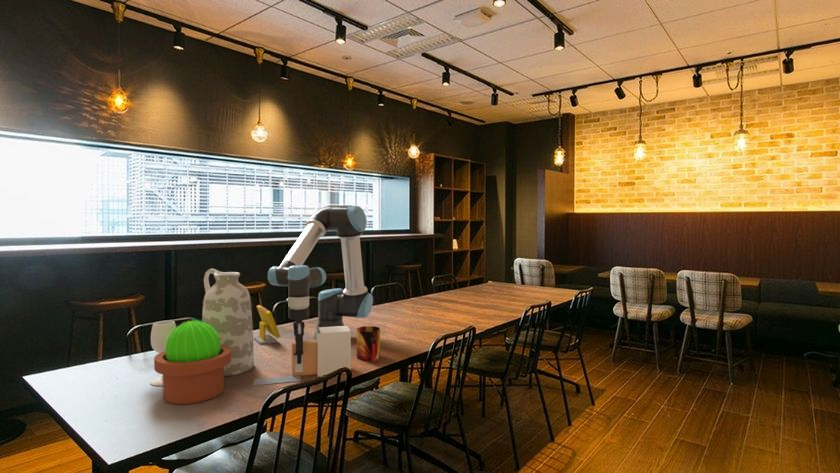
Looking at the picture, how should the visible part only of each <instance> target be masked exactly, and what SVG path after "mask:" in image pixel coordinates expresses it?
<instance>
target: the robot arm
mask: <svg viewBox="0 0 840 473" xmlns="http://www.w3.org/2000/svg"><path fill="white" fill-rule="evenodd" d="M304 226H305V228H304V229H303V231H302V232H301V234H300V235H299V237H298V238H297V239H296V241H295V242H294V244H293V245H292V247H291V248H290V250H289V251H288V253H287V254H286V255H285V257H284V259H283V260H282V261H281V263H280V265H279V266H277V265H275V266H272V267H270V268H269V270H268V271H267V280H268V282H269V284H270V285H272V286H277V287H288V288H287V289H288V293H287V296H288V298H286V302H288V303H287V304H288V309H287V313H288V315H287V317H288V319H289V320H295V321H294V322H292V324H293V325H292V326H293V327H292V328H293V336H294V342H296V353H294V355H295V372H303V341H304V334H305V326H306V325H305V321H303V320H306V319H309V318H310V308H309V306H310V289H313V288H319V287H320V286H323V284H325V282H326V280H327V273H326V271H325V270H324V269H323V268H322V267H318V266H316V267H315V266H313V267H309V266H308V265H305V264H304V263H305V262H306V260H307V258H308V257H309V255H310V254H311V253H312V251H313V249H314V248H315V246H316V244H317V243H318V241H319V240H320V238H322V237H324V236H325V234H326V233H328V232H336V237H337V238H339V239H340V243H341V244H340V245H341V253H342V262H343V263H342V264H343V274H344V282H345V288H344V289H343V288H340V287H339V288H338V287H337V288H331V289H330V288H329V289H324V290H321V291H320V292H318V297H317V304H318V305H317V308H318V310H317V313H318V315H317V316H318V318H317V320H318V321H317V325H316V326H318V327H334V326H345V323H344V321H343V318H344V317H346V318H357V319H359V318H360V319H361V318H362V319H363V318H364V319H365V318H367V317H368V316H369V315H370V314H371V312H372V309H373V306H374V305H373V304H374V296H373V295H372V294H371V293H370V292H369V291H368V287H367V286H366V285H365V282H364V273H363V272H364V271H363V270H364V269H363V261H362V260H363V259H362V250H361V239H360V238H361V237H362V235H363V232H364V231H365V230H366V228H367V217H366V214H365V211H364V209H363V208H362V207H361V206H359V205H351V204H350V205H326V206H324V207H322V208H320V209H318V210H317V211H315V212H314V213H313V214H312V215H311V216H310V217H309V218H308V219H307V221H306V222H305V225H304ZM314 339H316V329H315V330H314Z"/></svg>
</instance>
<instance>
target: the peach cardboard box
mask: <svg viewBox="0 0 840 473" xmlns="http://www.w3.org/2000/svg"><path fill="white" fill-rule="evenodd" d="M294 353H296V342H295V341H291V376H295V375H301V377H302V376H310V375H312V376H313V375H317V340H316V339H313V340H303V372H295V355H294Z"/></svg>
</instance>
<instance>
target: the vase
mask: <svg viewBox="0 0 840 473" xmlns="http://www.w3.org/2000/svg"><path fill="white" fill-rule="evenodd" d="M211 274H213V278H214V279H215V283H214V284H213V285H212V286H210V281H209V277H210V275H211ZM203 276H204V277H203V285H204V291H205V294H204V297H203V301H202V315H201V316H202V318H201V320H202V322H206V323H208V324H209V325H210V326H212V327H213V328H214V329H215V330H216V331H217V333H218V335H219V337H220V338H221V340H220V342H221V343H220V345H223V346H227V347H229V348H230V349H231V362H230V363H229V364H228V365H226V366H224V377H230V376H232V377H233V376H237V375H240V374H244V373H246V372H248V371H250V370H252V369H253V367H254V366H255V358H254V354H255V352H254V351H255V350H254V329H253V328H254V327H253V314H252V312H253V310H252V300H251V295H250V292H249V289H248V288H246V286H245V285H243V284H241V283H240V282H239V277H241V273H240V272H237V271H225V272H224V271H221V270H218V269H215V268H210V269H207V270H206V271H205V273H204V275H203Z"/></svg>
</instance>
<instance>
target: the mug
mask: <svg viewBox="0 0 840 473" xmlns="http://www.w3.org/2000/svg"><path fill="white" fill-rule="evenodd" d="M380 358H381V327H379V326H376V325H375V326H374V325H373V326H372V325H365V326H364V325H363V326H359V327H357V328H356V360H357V359H358V360H359V361H365V362H371V361H372V362H373V363H374V362H376V359H377V360H378V359H380Z"/></svg>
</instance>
